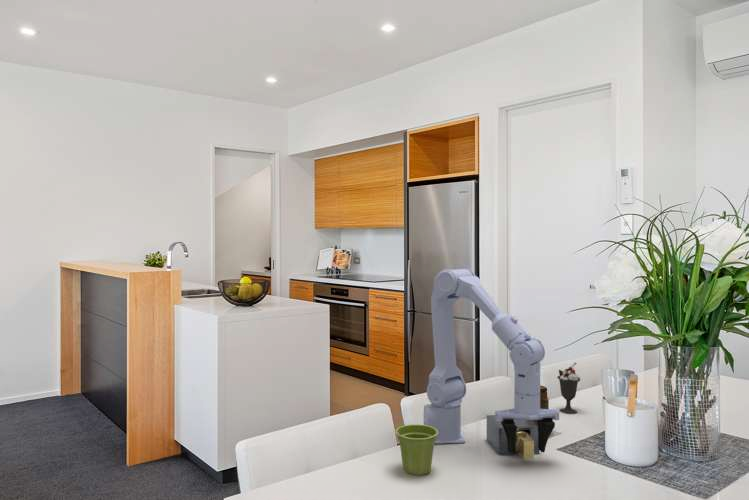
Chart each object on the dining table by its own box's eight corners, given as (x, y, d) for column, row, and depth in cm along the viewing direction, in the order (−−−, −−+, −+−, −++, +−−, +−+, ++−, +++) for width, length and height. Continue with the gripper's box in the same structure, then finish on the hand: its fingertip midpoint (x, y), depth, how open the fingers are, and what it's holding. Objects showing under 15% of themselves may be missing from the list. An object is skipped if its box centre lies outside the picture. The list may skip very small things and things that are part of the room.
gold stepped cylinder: (517, 461, 124) (517, 439, 124) (499, 441, 137) (499, 420, 137) (539, 461, 124) (540, 438, 124) (519, 440, 138) (519, 420, 137)
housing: (498, 454, 130) (498, 428, 130) (486, 440, 140) (486, 415, 140) (539, 453, 131) (539, 427, 131) (524, 439, 141) (524, 414, 141)
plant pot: (409, 482, 115) (409, 441, 115) (387, 466, 123) (388, 427, 123) (446, 473, 119) (446, 434, 119) (423, 458, 127) (423, 421, 127)
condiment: (533, 425, 152) (533, 382, 152) (560, 433, 145) (561, 388, 145) (517, 430, 147) (518, 386, 147) (545, 439, 141) (545, 393, 141)
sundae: (583, 414, 161) (584, 364, 161) (561, 414, 161) (561, 364, 161) (575, 408, 168) (576, 359, 168) (553, 408, 168) (554, 359, 168)
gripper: (502, 397, 121) (501, 458, 121) (565, 396, 122) (564, 456, 122) (492, 389, 128) (492, 447, 128) (552, 388, 129) (551, 445, 129)
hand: (526, 451), depth 125 cm, fingers open, 6 cm apart
